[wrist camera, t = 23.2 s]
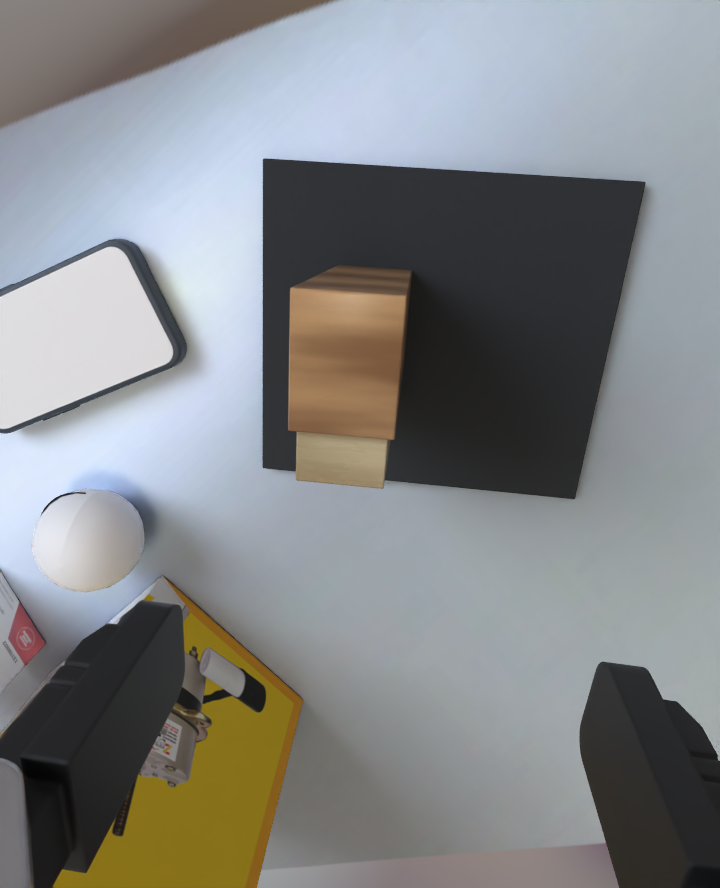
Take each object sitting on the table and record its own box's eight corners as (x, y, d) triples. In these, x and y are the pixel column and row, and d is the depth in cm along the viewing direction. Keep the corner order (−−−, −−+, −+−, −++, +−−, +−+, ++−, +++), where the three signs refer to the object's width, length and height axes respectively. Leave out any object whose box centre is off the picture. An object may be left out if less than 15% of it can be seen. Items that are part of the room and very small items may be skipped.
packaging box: (162, 574, 46) (-104, 936, 22) (303, 699, 49) (198, 1127, 26) (50, 672, 51) (-262, 1049, 28) (184, 779, 54) (6, 1197, 31)
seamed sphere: (133, 459, 42) (78, 504, 35) (177, 542, 44) (133, 600, 38) (24, 495, 44) (-48, 544, 37) (71, 573, 47) (12, 632, 40)
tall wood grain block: (332, 396, 38) (337, 264, 35) (400, 402, 38) (412, 270, 35) (287, 483, 25) (289, 287, 22) (390, 494, 25) (407, 296, 22)
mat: (642, 182, 33) (646, 181, 32) (572, 495, 40) (574, 499, 39) (265, 159, 34) (262, 158, 33) (264, 465, 41) (262, 468, 41)
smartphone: (133, 230, 37) (-61, 321, 40) (121, 230, 35) (-79, 324, 38) (196, 357, 39) (10, 433, 42) (187, 363, 38) (-5, 440, 41)
